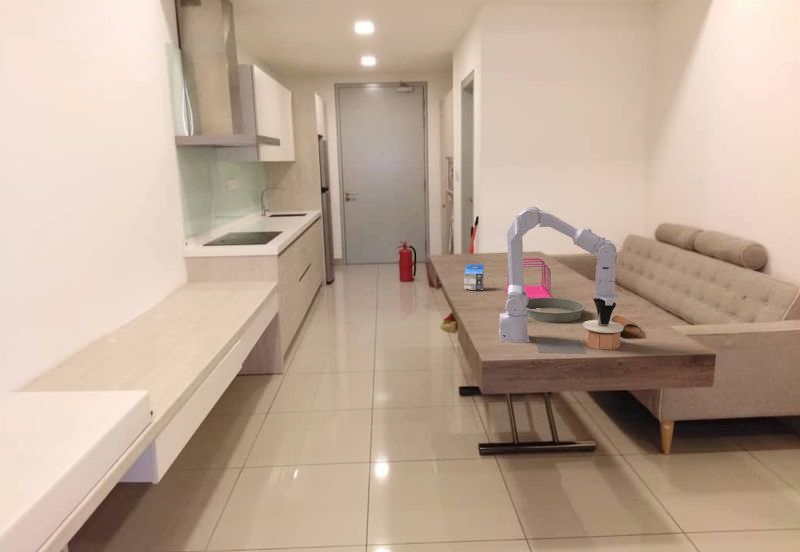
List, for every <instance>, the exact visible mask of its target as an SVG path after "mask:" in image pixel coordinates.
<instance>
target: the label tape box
mask: <svg viewBox="0 0 800 552" xmlns="http://www.w3.org/2000/svg"><path fill="white" fill-rule="evenodd" d="M484 272H485V269H484V264H480V263H479V264H477V263H475V264H474V263H465V271H464V274H463V277H464V279H463V281H464V282H463V284H464V285H463V288H464V289H470V290H483V289H484V290H485V287H484V286H485V284H484V283H485V277H484V276H485V275H484V274H485V273H484ZM464 289H463V290H464ZM484 290H483V291H484Z"/></svg>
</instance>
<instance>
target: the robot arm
mask: <svg viewBox="0 0 800 552" xmlns="http://www.w3.org/2000/svg"><path fill="white" fill-rule="evenodd" d="M537 225H539V227H538V228H545V227H546V228H547V227H548V228H552V229H553V230H555V231H558V232H560V233H561V234H563V235H565V236H567V237H569V238H571V239H572V241H573V244H574V245H575V246H576V247H579V248H581V249H582V250H584V251H586V252H588V253H589V254H592V255H593V254H594V255H595V256H596V265H595V282H594V283H595V284H594V285H595V286H594V287H595V288H594V293H593V296H594V297H595V298H593V299H592V300H593V302H594V304H595V307H596V313H597V318H598V317H599V313H600V321H601V324H609V321H611V317H612V313H613V312H614V309H615V308H616V306H617V303H616V302H614V299H615V298H619V296H620V295H619V293H616V291H615V289H616V262H617V261H616V256H617V254H618V252H617V247H616V245H615V243H614V242H612V241H611V240H608V239H607V238H606V237H605V236H602V237H601V236H599V235H598V234H596V233H594V232H592V231H593V229H592V228H584V227H583V228H579V229H578V228H576V227H574V226H573V225H571V224H569V223H568V222H566V221H565V220H563V219H561V218H559V217H557V216H555V215H553V214H552V213H550V212H549V211H547V210H543V209H540V208H539V207H536V206H530V207H527V208H525V209H523V210H522V211H520V212H519V213H518V214H517V215H516V216H515V218H514V219H513V221H512V223H511V224H510V226H509V228H508V229H507V231H506V242H507V245H506V247H507V275H508V274H509V289H508V292H507V299H506V301H505V304H504V306H505V307H504V308H505V310H506V311H505V312H504V313H499V329H498V335H499V341H500V340H505V341H514V343H515V342H516V343H530V342H531V341H530V336H529V318H528V311H527V310H526V308H525V307H526V306H527V305H528V296H527V295H526V292H525V286H526V285H525V277H524V274H525V273H524V268H523V266H524V265H523V264H524V263H523V261H524V260H523V258H524V254H523V253H524V249H523V248H524V246H523V237H524V235H526V233H528V231H530V230H532V229H534V228H535V227H537ZM503 336H504V337H503Z"/></svg>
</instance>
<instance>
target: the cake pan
mask: <svg viewBox="0 0 800 552" xmlns="http://www.w3.org/2000/svg"><path fill="white" fill-rule="evenodd" d="M525 308H526V310H527V311H528V317H529V318H532V319H531V320H533V319H535V320H534V321H537V320H539V321H538V322H544V321H545V322H546V323H565V322H573V321H576V320H578V319H580V318H581V315H582V312H583V311H584V310H585V309H586V308H587V307H586V304H585V303H583V302H581V301H579V300H576V299H571V298H564V297H553V296H552V297H543V298H532V299H528V305H527V306H526V307H525ZM536 308H541V309H542V310H541V309H540V311H537V310H532V309H536ZM529 318H528V319H529Z"/></svg>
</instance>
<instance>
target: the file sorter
mask: <svg viewBox="0 0 800 552" xmlns="http://www.w3.org/2000/svg"><path fill="white" fill-rule="evenodd" d="M524 268H541V279H540V280H541V283H540V285H524V286H525V292H526V295H527V296H528V299H532V298H543V297H553V296H552V295H551V293H552V292H551V291H552V290H551V289H552V286H551V284H552V283H551V281H552V280H551V278H552V277H551V275H552V274H551V268H550V267H549V266H548V265H547V264H546V262H545V261H544V260H543V259H541V258H539V257H523V269H524ZM508 289H509V274H508V273H507V285H506V291H508Z"/></svg>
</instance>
